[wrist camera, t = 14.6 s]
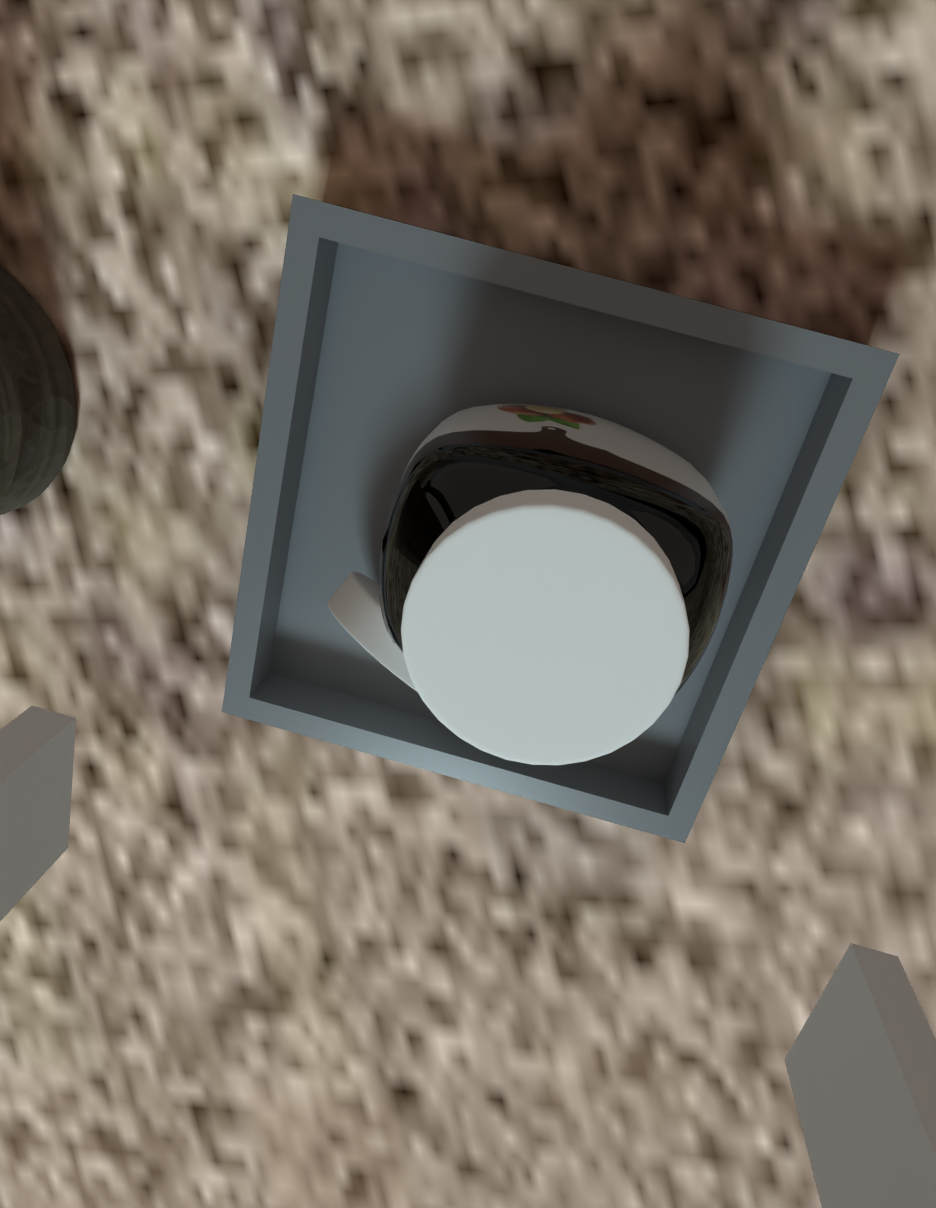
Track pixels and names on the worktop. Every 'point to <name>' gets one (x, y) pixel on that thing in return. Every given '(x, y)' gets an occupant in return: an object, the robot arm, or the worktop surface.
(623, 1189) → the worktop surface
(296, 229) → the tray
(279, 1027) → the worktop surface
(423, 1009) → the worktop surface
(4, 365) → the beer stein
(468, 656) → the spread jar
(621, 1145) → the worktop surface
